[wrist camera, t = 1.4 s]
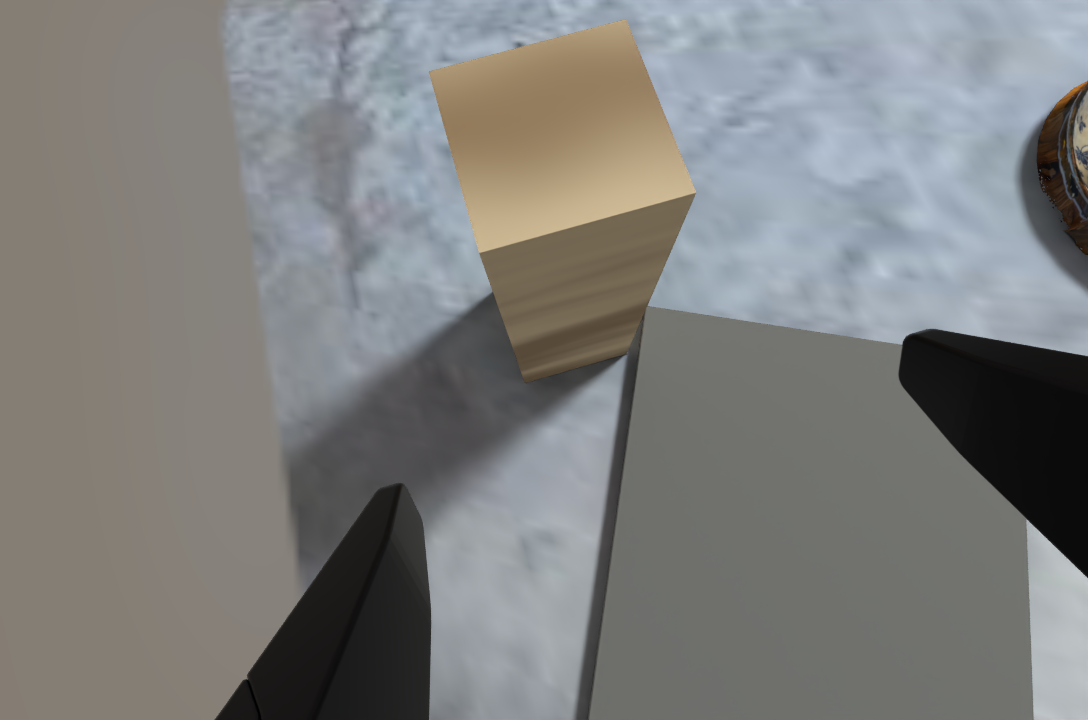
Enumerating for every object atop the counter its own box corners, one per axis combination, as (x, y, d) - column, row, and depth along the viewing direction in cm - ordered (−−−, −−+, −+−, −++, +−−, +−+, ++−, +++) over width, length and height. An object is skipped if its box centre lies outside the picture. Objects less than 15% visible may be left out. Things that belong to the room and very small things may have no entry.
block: (626, 353, 23) (696, 193, 11) (524, 382, 23) (479, 253, 11) (595, 260, 24) (626, 19, 12) (498, 287, 24) (428, 71, 12)
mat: (1024, 885, 18) (1039, 899, 17) (578, 785, 19) (578, 794, 18) (1008, 366, 22) (1020, 362, 21) (644, 310, 23) (646, 305, 23)
